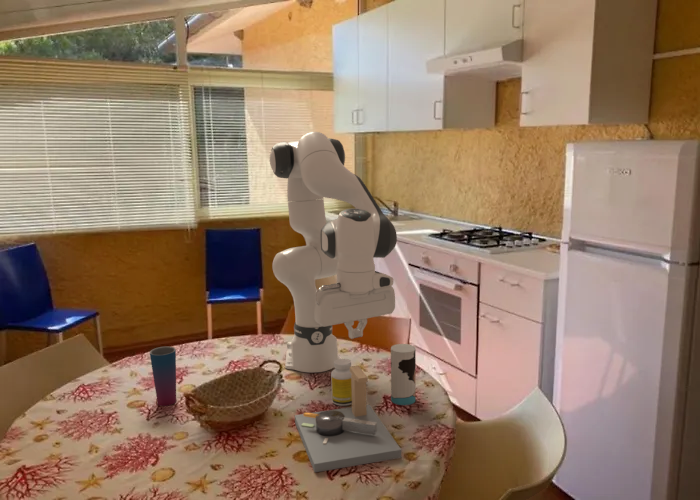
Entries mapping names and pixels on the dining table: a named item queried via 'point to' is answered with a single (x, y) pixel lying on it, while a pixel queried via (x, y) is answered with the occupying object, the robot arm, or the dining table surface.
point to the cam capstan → (340, 424)
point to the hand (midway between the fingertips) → (355, 337)
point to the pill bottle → (341, 382)
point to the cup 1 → (164, 374)
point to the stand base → (348, 435)
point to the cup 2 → (403, 374)
